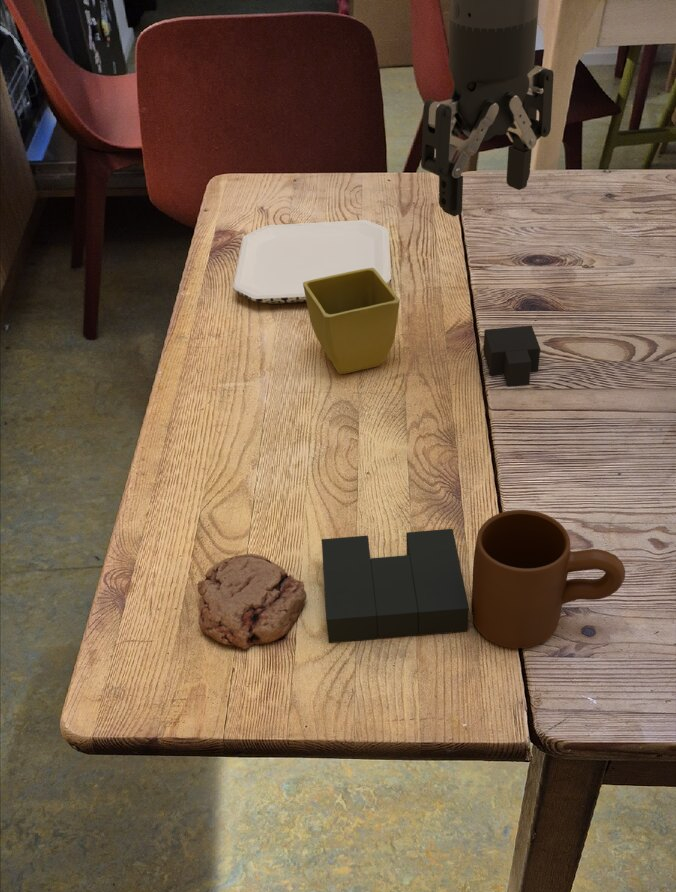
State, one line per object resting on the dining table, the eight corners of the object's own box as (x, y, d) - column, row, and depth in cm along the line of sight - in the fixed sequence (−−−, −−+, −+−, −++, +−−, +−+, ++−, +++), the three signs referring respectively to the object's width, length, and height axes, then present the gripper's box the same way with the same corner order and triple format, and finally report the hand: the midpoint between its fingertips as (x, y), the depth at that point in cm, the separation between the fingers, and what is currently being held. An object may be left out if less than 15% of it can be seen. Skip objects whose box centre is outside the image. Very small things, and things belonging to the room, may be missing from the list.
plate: (389, 232, 132) (388, 217, 131) (392, 306, 118) (391, 290, 117) (246, 240, 134) (244, 225, 132) (232, 314, 119) (229, 298, 118)
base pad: (452, 552, 86) (452, 528, 84) (467, 631, 80) (469, 608, 77) (324, 562, 87) (321, 538, 84) (328, 643, 80) (326, 619, 78)
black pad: (529, 348, 109) (531, 325, 107) (542, 383, 104) (545, 360, 102) (483, 352, 109) (484, 329, 107) (493, 387, 104) (495, 364, 102)
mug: (615, 603, 81) (633, 522, 74) (607, 669, 76) (626, 589, 69) (479, 581, 84) (484, 501, 77) (462, 643, 79) (466, 564, 72)
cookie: (262, 551, 88) (258, 528, 86) (327, 614, 82) (325, 590, 80) (171, 600, 84) (165, 577, 82) (233, 670, 78) (228, 647, 76)
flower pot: (376, 334, 114) (373, 265, 107) (402, 370, 108) (401, 299, 101) (308, 351, 112) (301, 281, 106) (331, 388, 106) (325, 317, 100)
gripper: (460, 39, 75) (455, 235, 86) (585, -1, 80) (564, 189, 92) (401, 21, 79) (404, 210, 91) (523, -15, 84) (511, 167, 96)
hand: (484, 199), depth 91 cm, fingers open, 8 cm apart
